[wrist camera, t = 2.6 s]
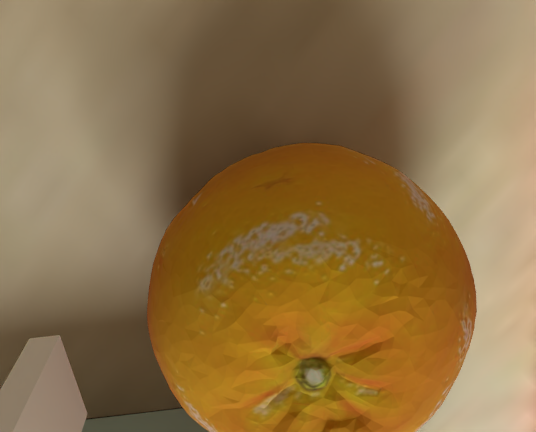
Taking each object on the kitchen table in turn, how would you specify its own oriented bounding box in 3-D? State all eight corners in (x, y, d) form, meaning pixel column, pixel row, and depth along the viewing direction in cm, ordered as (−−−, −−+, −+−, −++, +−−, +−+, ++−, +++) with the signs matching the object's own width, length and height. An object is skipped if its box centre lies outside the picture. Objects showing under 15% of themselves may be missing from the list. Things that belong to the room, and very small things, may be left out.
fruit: (358, 26, 10) (371, 449, 7) (497, 199, 16) (547, 481, 12) (118, 159, 15) (47, 444, 12) (288, 255, 21) (278, 468, 17)
